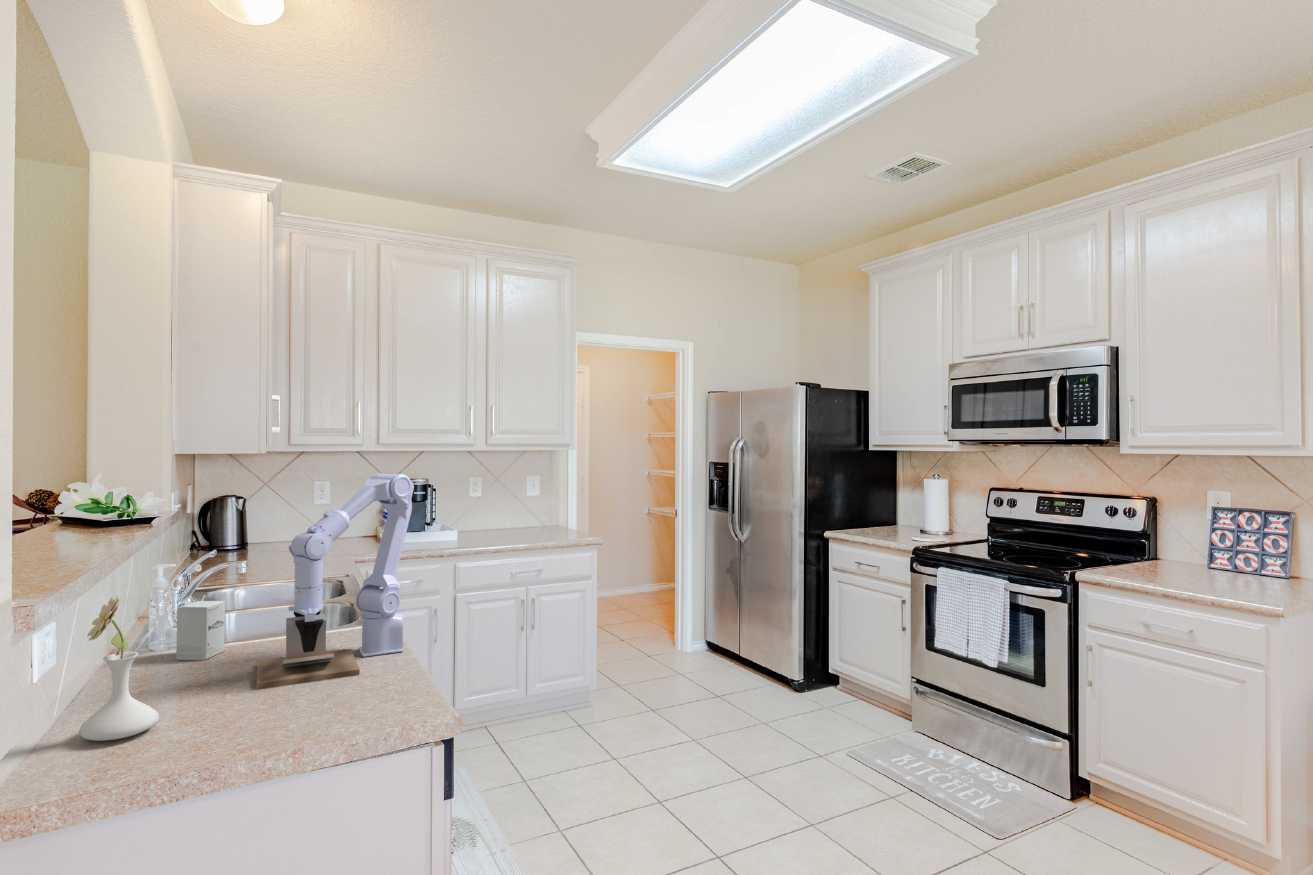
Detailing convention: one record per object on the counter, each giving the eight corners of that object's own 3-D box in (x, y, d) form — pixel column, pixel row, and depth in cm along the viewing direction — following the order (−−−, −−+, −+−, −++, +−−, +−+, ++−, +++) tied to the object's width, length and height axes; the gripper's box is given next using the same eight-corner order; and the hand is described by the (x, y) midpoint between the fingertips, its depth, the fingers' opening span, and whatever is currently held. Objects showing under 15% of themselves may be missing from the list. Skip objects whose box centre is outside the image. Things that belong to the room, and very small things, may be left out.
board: (350, 653, 173) (350, 648, 173) (359, 674, 157) (359, 669, 157) (257, 665, 163) (257, 660, 163) (256, 689, 147) (256, 683, 148)
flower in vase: (90, 726, 128) (92, 588, 128) (165, 717, 132) (167, 584, 133) (64, 756, 116) (66, 604, 116) (148, 744, 121) (149, 598, 121)
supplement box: (205, 660, 167) (206, 607, 167) (175, 660, 167) (175, 606, 167) (225, 651, 174) (226, 600, 174) (196, 651, 174) (196, 600, 174)
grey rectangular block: (324, 649, 165) (325, 613, 163) (325, 656, 162) (326, 620, 160) (286, 654, 161) (286, 618, 160) (286, 662, 158) (286, 624, 157)
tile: (334, 653, 157) (334, 657, 157) (331, 656, 164) (331, 659, 163) (283, 659, 153) (283, 663, 152) (282, 662, 159) (282, 666, 159)
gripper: (287, 581, 163) (287, 640, 163) (289, 594, 151) (288, 657, 151) (321, 579, 167) (320, 636, 167) (325, 591, 154) (325, 653, 154)
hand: (307, 646), depth 159 cm, fingers open, 7 cm apart
